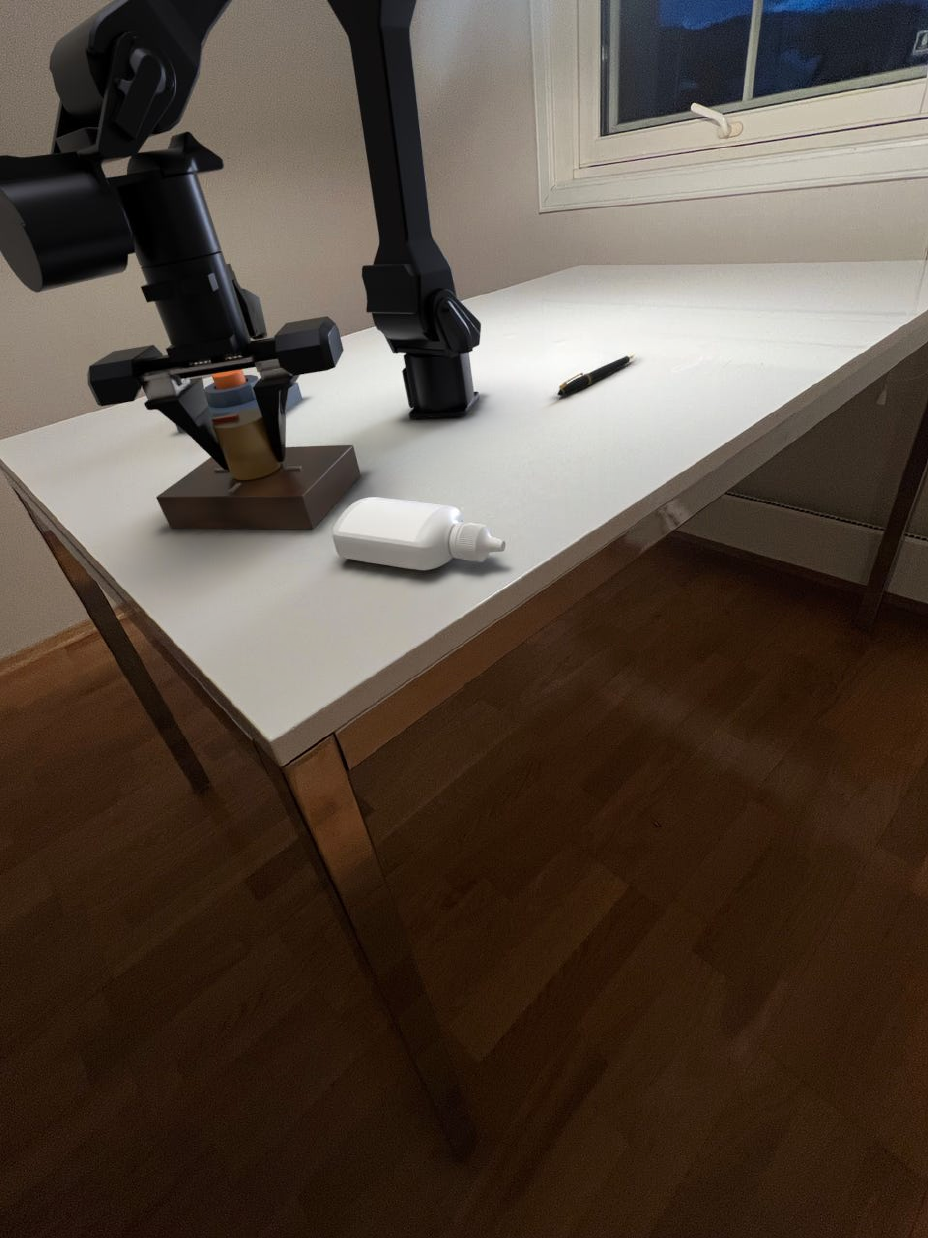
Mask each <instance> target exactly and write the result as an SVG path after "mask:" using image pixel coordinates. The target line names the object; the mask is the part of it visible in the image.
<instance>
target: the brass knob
mask: <svg viewBox="0 0 928 1238" xmlns="http://www.w3.org/2000/svg"><path fill="white" fill-rule="evenodd" d="M212 422H213V424H212V427H213V429H214V432H215V434H216V437H217V440H218V442H219V445H220V447H221V450H222V453H223V455H224V458H225V460H226V463H227V465H228V468H229V471H230V473H231V476H232V477H233V478H234V479H236V480H252V479H257V478H261V477H264V476H267V475H269V474H271V473H273V472H275V471H277V470H278V469H279V468H280V467H281V466H282V462H279V461H278V460H277V458H276V456H275V453H274V451H273V449H272V447H271V444H270V441H269V437H268V434H267V431H266V428H265V425H264V422H263V419H262V416H261V412H260V409H247V410H241V411H237V412H233V413H230V414H227V415H225V416H219V417H213V418H212Z"/></svg>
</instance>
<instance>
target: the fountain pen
mask: <svg viewBox="0 0 928 1238" xmlns="http://www.w3.org/2000/svg"><path fill="white" fill-rule="evenodd" d="M634 356H635V354H633V355H630V356H628V355H625V356H623V357H621V358H618V359H615V360H614V361H612V362H609V363H607V364H605V365H603V366H601V367H598V368H596V369H594V370H592V371H590V372H588V373H583V372H580V373H578V374H576V375H574V376H573V377H571V378H569V379H567V380H566V381H564V382H563V383H562V384H560V385H559V387H558V389H559V390H558V392H557V396H560V397H563V396H567V395H571V394H573V393H575V392H578V391H580V390H582V389H584V388H586V387H588V386H590V385H592V384H593V383H595V382H597V381H599V380H601V379H603V378H604V377H607V376H608V375H609V374H611V373H613V372H615V371H617V370H618V369H620V368H622V367H623V366H625V365H627V364H629V363H630V361H631V360H632V359H633V358H634Z"/></svg>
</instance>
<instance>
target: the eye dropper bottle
mask: <svg viewBox="0 0 928 1238" xmlns="http://www.w3.org/2000/svg"><path fill="white" fill-rule="evenodd" d="M331 537H332V541H333V545H334V547H335V551H336V553H337V555H338V556H339V557H340V558H342V559H347V560H351V561H352V560H354V561H359V562H364V563H370V564H371V563H372V564H378V565H384V566H389V567H390V566H391V567H397V568H403V569H409V570H418V571H429V570H434V569H437V568H439V567H442V566H443V565H446V564H448V562H450V561H451V560H453V559H454V558H455V559H459V560H466V561H471V562H477V563H478V562H479V563H482V562H484V561H486V559H488V557H489V555H490V553H503V552H505V549H506V541H505V540H504V539H500V538H498V537H495V536H492V531H491V529H490V527H489V526H488V525H486V524H480V523H479V524H478V523H471V522H464V518H463V515H462V513H461V511H460V510H459V509H458V508H457V507H455V506H452V505H447V504H439V503H431V502H422V501H413V500H412V501H411V500H406V499H405V500H404V499H395V498H386V497H376V496H375V497H373V496H371V497H365V498H361V499H358V500H356V501H354V502H353V503H352V504H350V505H349V506H348V507H347V508H346V509H345V510H344V511H343V512H342V513H341V514H340V515H339V517H338V519H336V522H335V524H334V525H333V528H332V531H331Z"/></svg>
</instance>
